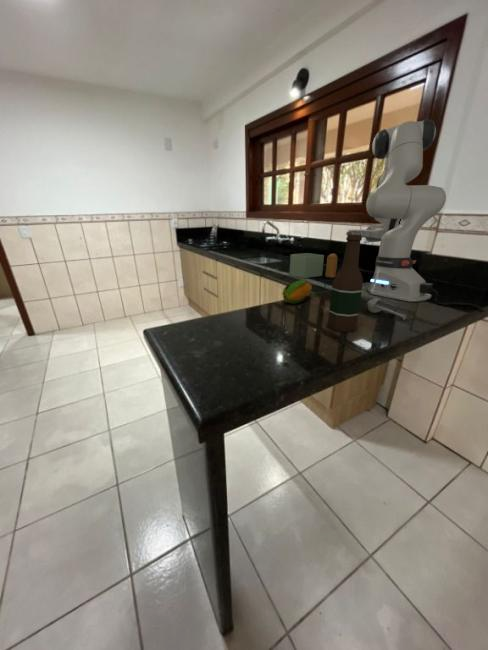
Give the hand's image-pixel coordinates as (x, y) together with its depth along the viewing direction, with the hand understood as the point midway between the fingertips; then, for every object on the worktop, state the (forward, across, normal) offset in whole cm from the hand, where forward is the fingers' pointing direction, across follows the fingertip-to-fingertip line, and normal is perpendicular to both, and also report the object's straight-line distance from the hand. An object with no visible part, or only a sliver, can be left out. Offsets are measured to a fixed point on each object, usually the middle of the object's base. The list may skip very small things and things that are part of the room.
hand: (353, 234), depth 137 cm
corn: (+54, +33, +21) cm, 67 cm away
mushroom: (+38, +57, +21) cm, 72 cm away
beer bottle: (+58, +60, +21) cm, 86 cm away
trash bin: (+22, -8, +21) cm, 32 cm away
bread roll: (+12, 0, +21) cm, 24 cm away
